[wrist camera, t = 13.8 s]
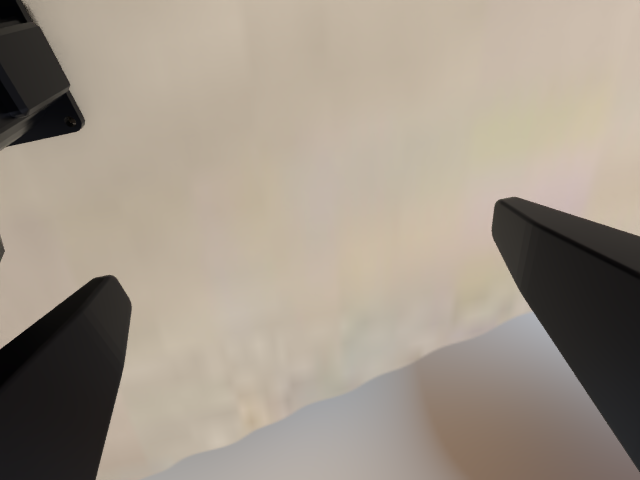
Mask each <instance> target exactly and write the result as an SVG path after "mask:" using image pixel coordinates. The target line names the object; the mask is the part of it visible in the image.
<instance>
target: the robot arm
mask: <svg viewBox="0 0 640 480" xmlns="http://www.w3.org/2000/svg"><path fill="white" fill-rule="evenodd" d="M69 87H70V83H69V81H68V79H67V77H66V75H65V74H64V72H63V70H62V68H61V66H60V64H59V62H58V60H57V58H56V57H55V55H54V53H53V51H52V49H51V47H50V45H49V43H48V41H47V40H46V38H45V36H44V34H43V32H42V30H41V28H40V27H39V26H38V25H36V24H34V23H33V22H32V20H31V18H30V16H29V14H28V12H27V10H26V9H25V7H24V5H23V3H22V1H21V0H0V151H1V150H2V149H4V148H5V147H8V146H12V145H17V144H22V143H26V142H31V141H36V140H40V139H45V138H50V137H54V136H59V135H63V134H68V133H73V132H77V131H79V130H80V129H81V128H82V127H83V126H84V124H85V120H84V117H83V115H82V113H81V111H80V109H79V108H78V106H77V104H76V102H75V100H74V98H73V96H72V94H71V93H70V91H69ZM68 117H72V118H74V119H75V121H76V124H72V123H70V122H69V120H68ZM492 236H493V239H494V241H495V243H496V245H497V247H498V249H499V251H500V253H501V255H502V257H503V259H504V261H505V263H506V265H507V267H508V269H509V271H510V273H511V275H512V277H513V279H514V281H515V283H516V285H517V287H518V289H519V290H520V292H521V294H522V295H523V297H524V298H525V300H526V301H527V303H528V305H529V306H530V308H531V309H532V311H533V312H534V313H535V315H536V317H537V318H538V320H539V321H540V323H541V324H542V326H543V327H544V329H545V330H546V332H547V333H548V335H549V336H550V338H551V339H552V341H553V342H554V344H555V345H556V346H557V348H558V350H559V351H560V352H561V354H562V356H563V357H564V359H565V360H566V362H567V363H568V365H569V366H570V368H571V369H572V371H573V372H574V374H575V375H576V377H577V378H578V380H579V381H580V383H581V384H582V386H583V387H584V389H585V390H586V392H587V393H588V395H589V396H590V398H591V399H592V401H593V402H594V404H595V406H596V407H597V409H598V410H599V411H600V413H601V415H602V416H603V418H604V419H605V421H606V422H607V424H608V425H609V427H610V428H611V430H612V431H613V433H614V434H615V436H616V437H617V439H618V440H619V442H620V443H621V445H622V446H623V448H624V449H625V451H626V452H627V454H628V455H629V457H630V458H631V460H632V461H633V463H634V464H635V466H636V467H637V469H638V470H639V472H640V236H637V235H634V234H631V233H627V232H624V231H621V230H618V229H615V228H612V227H609V226H606V225H602V224H599V223H596V222H593V221H590V220H587V219H584V218H581V217H577V216H574V215H571V214H568V213H565V212H562V211H559V210H555V209H552V208H549V207H546V206H543V205H540V204H537V203H534V202H530V201H527V200H524V199H521V198H518V197H510V198H505V199H500V200H498V201H497V202H496V203H495V207H494V214H493V222H492ZM4 252H5V250H4V246H3V243H2V239H1V236H0V261H1V259H2V257H3V254H4ZM131 310H132V306H131V302H130V299H129V297H128V296H127V294H126V292H125V291H124V289H123V288H122V286H121V284H120V283H119V281H118V280H117V278H116V277H114V276H112V275H107V276H102V277H96V278H94V279H92V280H91V281H89V282H88V283H87V284H85V285H84V286H83V287H81V288H80V289H79V290H77V291H76V292H75V293H73V294H72V295H71V296H70V297H68V298H67V299H66V300H64V301H63V302H62V303H60V304H59V305H58V306H56V307H55V308H54V309H53V310H51V311H50V312H49V313H47V314H46V315H45V316H43V317H42V318H41V319H39V320H38V321H37V322H35V323H34V324H33V325H32V326H30V327H29V328H28V329H26V330H25V331H24V332H22V333H21V334H20V335H18V336H17V337H16V338H15V339H13V340H12V341H11V342H9V343H8V344H7V345H5V346H4V347H3V348H1V349H0V480H96V476H97V472H98V468H99V464H100V460H101V456H102V452H103V448H104V444H105V440H106V436H107V432H108V428H109V424H110V420H111V416H112V412H113V408H114V404H115V400H116V396H117V392H118V388H119V385H120V381H121V377H122V372H123V368H124V362H125V356H126V348H127V341H128V333H129V325H130V318H131Z"/></svg>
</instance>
